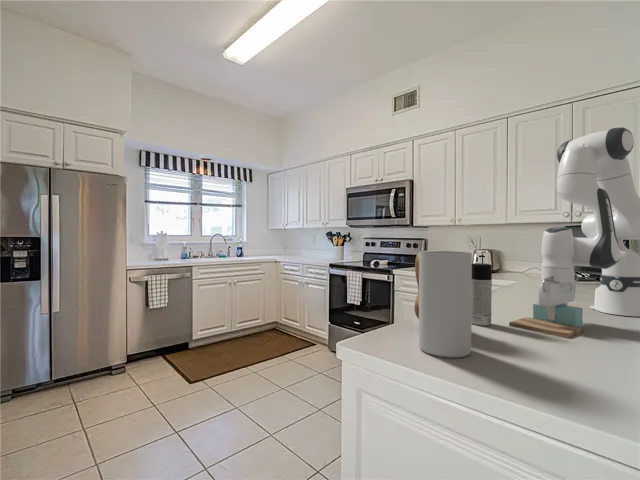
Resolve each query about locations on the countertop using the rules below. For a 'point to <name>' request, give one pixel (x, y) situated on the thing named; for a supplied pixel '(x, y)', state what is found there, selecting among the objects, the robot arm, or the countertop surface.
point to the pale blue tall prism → (560, 314)
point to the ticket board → (547, 327)
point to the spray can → (481, 294)
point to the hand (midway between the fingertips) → (556, 317)
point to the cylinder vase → (445, 303)
